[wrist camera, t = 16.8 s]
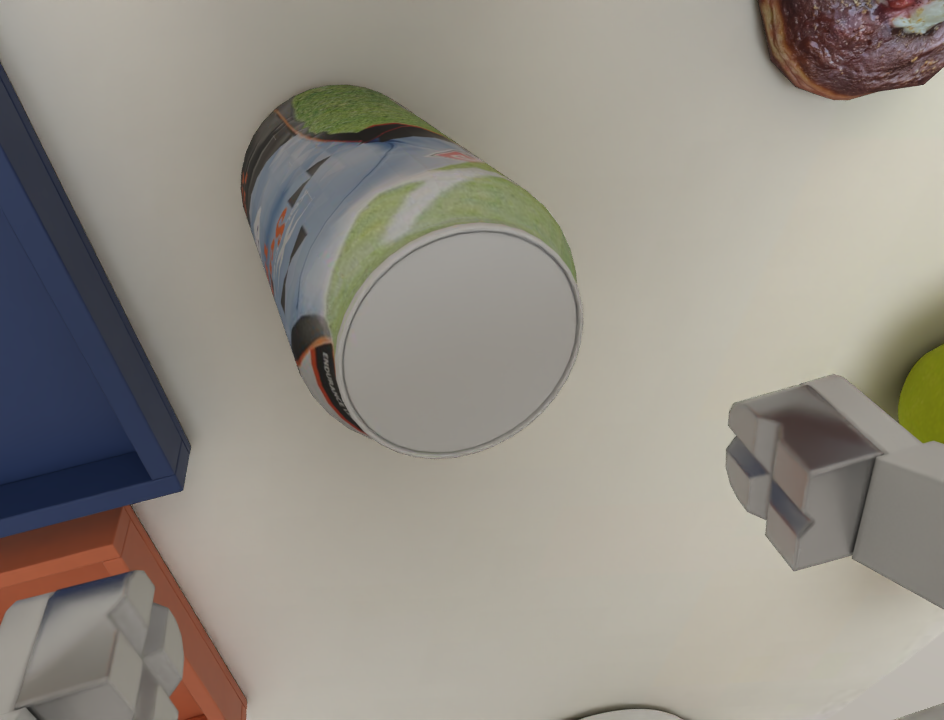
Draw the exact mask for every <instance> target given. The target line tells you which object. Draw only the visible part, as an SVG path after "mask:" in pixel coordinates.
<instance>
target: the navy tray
mask: <svg viewBox="0 0 944 720" xmlns="http://www.w3.org/2000/svg"><path fill="white" fill-rule="evenodd" d="M190 450H191V445H190V443H189V441H188V439H187V437H186V435H185V433H184V431H183V429H182V427H181V425H180V423H179V421H178V419H177V417H176V415H175V413H174V411H173V409H172V407H171V405H170V403H169V401H168V399H167V397H166V395H165V393H164V391H163V389H162V387H161V385H160V383H159V381H158V379H157V377H156V375H155V373H154V371H153V369H152V367H151V365H150V363H149V361H148V359H147V357H146V355H145V353H144V351H143V349H142V347H141V345H140V343H139V341H138V339H137V337H136V335H135V333H134V331H133V329H132V327H131V325H130V322H129V320H128V318H127V316H126V314H125V312H124V310H123V308H122V306H121V304H120V302H119V300H118V298H117V296H116V294H115V292H114V290H113V288H112V286H111V284H110V282H109V280H108V278H107V276H106V274H105V272H104V270H103V268H102V266H101V264H100V262H99V260H98V258H97V256H96V254H95V252H94V250H93V248H92V246H91V244H90V242H89V240H88V238H87V236H86V234H85V232H84V230H83V228H82V226H81V224H80V222H79V220H78V218H77V216H76V214H75V212H74V210H73V208H72V206H71V204H70V202H69V200H68V198H67V196H66V194H65V192H64V190H63V188H62V186H61V184H60V182H59V180H58V178H57V176H56V173H55V171H54V169H53V167H52V165H51V163H50V161H49V159H48V157H47V155H46V153H45V151H44V149H43V147H42V145H41V143H40V141H39V139H38V137H37V135H36V133H35V131H34V129H33V127H32V125H31V123H30V121H29V119H28V117H27V115H26V113H25V111H24V109H23V107H22V105H21V103H20V101H19V99H18V97H17V95H16V93H15V91H14V89H13V87H12V85H11V83H10V81H9V79H8V77H7V75H6V73H5V71H4V69H3V67H2V65H1V63H0V538H3V537H7V536H11V535H15V534H19V533H23V532H26V531H30V530H34V529H38V528H42V527H46V526H50V525H53V524H57V523H61V522H65V521H69V520H73V519H77V518H80V517H84V516H88V515H92V514H96V513H100V512H104V511H107V510H111V509H115V508H119V507H123V506H127V505H131V504H134V503H138V502H142V501H146V500H150V499H154V498H158V497H161V496H165V495H169V494H173V493H177V492H181V491H183V489H184V483H185V477H186V472H187V466H188V460H189V454H190Z"/></svg>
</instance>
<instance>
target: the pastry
mask: <svg viewBox="0 0 944 720" xmlns="http://www.w3.org/2000/svg"><path fill="white" fill-rule="evenodd" d="M758 3H759V8H760V12H761V17H762V21H763V26H764V31H765V35H766V40H767V44H768V49H769V54H770V58H771V61H772V62H773V63H774V64H775V65H776V66H777V67H778V68H779V70H780V71H781V72H782V73H783V74H784V75H785V76H786V77H787V78H788V79H789V80H790V81H791V82H792V83H793V85H794V86H795V87H798V88H800V89H803V90H806V91H808V92H811V93H813V94H816V95H820V96H823V97H826V98H829V99H832V100H850V99H854V98H857V97H861V96H864V95H868V94H871V93H875V92H878V91H885V90H891V89H898V88H905V87H912V86H918V85H924V84H925V83H926V82H927V81H928V80H930V79H931V78H932V77H933V76H934V75H935V74H936V73H937V72H939V71H940V70H941V69H942V68H943V67H944V0H758Z"/></svg>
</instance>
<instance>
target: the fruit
mask: <svg viewBox="0 0 944 720" xmlns="http://www.w3.org/2000/svg"><path fill="white" fill-rule="evenodd" d="M898 419H899V424H900V425H901V426H903V427H904V428H905V429H906V430H907V431H909V432H910V433H911V434H912V435H913V436H915V437H916V438H917V439H918V440H919V441H921V442H922V443H927V442H931V441H936V442H939V443H942V444H944V344H942V345H941V346H939V347H937V348H935V349H933V350H932V351H930V352H928V353H927V354H925V355H924V356H922V357H921V358H920V359H919V360H918V361H917V362H916V364H915V365H914V366H913V368H912V369H911V371H910V372H909V374H908V376H907V378H906V380H905V383H904V386H903V388H902V391H901V394H900V398H899V404H898Z"/></svg>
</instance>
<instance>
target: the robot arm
mask: <svg viewBox="0 0 944 720" xmlns="http://www.w3.org/2000/svg"><path fill="white" fill-rule="evenodd" d="M728 426H729V427H730V429H731V430H732V431H733V432H734V433H735V434H736V437H735V438H734V439H733V441H732V442H731V443H730V445H729V446H728V447H727V449H726V470H727V474H728V478H729V481H730V485H731V487H732V489H733V491H734V493H735V495H736V497H737V499H738V500H739V501H740V503H741V504H742V505H743V507H744V508H745V509H746V511H747V512H749V513H751V514H754V515H756V516H758V517H760V518H762V519H765V520H766V532H765V535H766V537H767V538H768V539H769V541H770V542H771V543H772V544H773V546H774V547H775V548H776V550H777V551H778V552H779V553H780V555H781V556H782V557H783V558H784V560H785V561H786V562H787V564H788V565H789V566H790V567H791V569H792V570H793V571H797V570H801V569H804V568H808V567H811V566H815V565H819V564H822V563H826V562H829V561H833V560H837V559H840V558H844V557H847V556H851V555H853V556H852V559H854V560H856V561H857V562H859V563H861V564H863V565H865V566H866V567H868V568H870V569H872V570H874V571H875V572H877V573H879V574H881V575H883V576H884V577H886V578H888V579H890V580H892V581H893V582H895V583H897V584H899V585H901V586H902V587H904V588H906V589H908V590H910V591H911V592H913V593H915V594H917V595H919V596H920V597H922V598H924V599H926V600H928V601H929V602H931V603H933V604H935V605H937V606H939V607H940V608H942V609H944V444H942V443H939V442H936V441H931V442H927V443H922V442H921V441H919V440H918V439H917V438H916V437H915V436H913V435H912V434H911V433H910V432H909V431H907V430H906V429H905V428H904V427H903V426H901V425H900V424H899V423H898V422H897V421H895V420H894V419H893V418H892V417H891V416H889V415H888V414H887V413H886V412H885V411H883V410H882V409H881V408H880V407H879V406H877V405H876V404H875V403H874V402H873V401H871V400H870V399H869V398H868V397H867V396H865V395H864V394H863V393H862V392H861V391H860V390H858V389H857V388H856V387H855V386H854V385H852V384H851V383H850V382H849V381H848V380H846V379H845V378H844V377H841V376H838V375H835V374H832V375H829V376H825V377H822V378H818V379H815V380H811V381H808V382H805V383H801V384H800V385H795V386H791V387H788V388H784V389H781V390H778V391H774V392H771V393H767V394H764V395H760V396H757V397H753V398H750V399H746V400H743V401H739V402H736V403H734V404H733V406H732V407H731V409H730V411H729V419H728ZM154 591H155V586H154V584H153V583H152V581H151V580H150V579H149V577H148V576H147V574H146V573H145V571H142V570H133V571H129V572H125V573H122V574H118V575H114V576H110V577H106V578H102V579H98V580H94V581H90V582H86V583H82V584H78V585H74V586H70V587H66V588H62V589H58V590H56V591H54V592H50V593H46V594H42V595H38V596H34V597H30V598H26V599H22V600H18V601H16V602H15V603H14V604H13V605H12V606H11V607H10V608H9V609H8V610H7V611H6V612H5V614H4V617H3V620H2V622H1V625H0V720H178V714H179V711H178V710H177V708H176V707H175V706H174V704H173V703H172V701H171V700H170V698H169V697H170V696H171V694H172V693H173V692H174V690H175V689H176V687H177V686H178V685H179V683H180V682H181V680H182V678H183V667H184V651H183V643H182V635H181V632H180V630H179V627H178V624H177V621H176V619H175V617H174V616H173V614H172V612H171V611H170V609H169V608H167V607H165V606H162V605H160V604H157V603H154V602H153V598H154ZM579 720H683V719H681V718H679V717H677V716H675V715H673V714H670V713H667V712H663V711H658V710H651V709H626V710H617V711H611V712H605V713H600V714H596V715H592V716H589V717H585V718H582V719H579ZM895 720H944V703H942V704H939V705H936V706H933V707H930V708H927V709H924V710H921V711H918V712H915V713H912V714H909V715H906V716H904V717H900V718H898V719H895Z"/></svg>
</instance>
